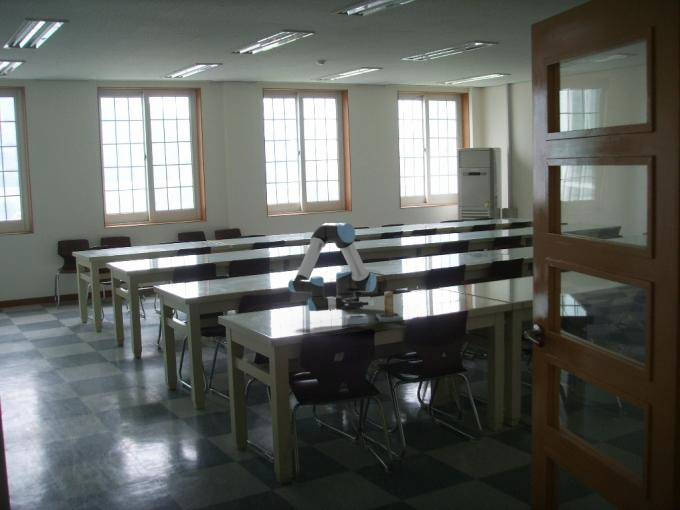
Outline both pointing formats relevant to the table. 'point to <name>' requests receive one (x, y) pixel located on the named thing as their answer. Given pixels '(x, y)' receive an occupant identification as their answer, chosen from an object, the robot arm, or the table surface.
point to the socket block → (356, 319)
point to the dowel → (388, 304)
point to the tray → (389, 318)
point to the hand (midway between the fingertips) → (372, 300)
